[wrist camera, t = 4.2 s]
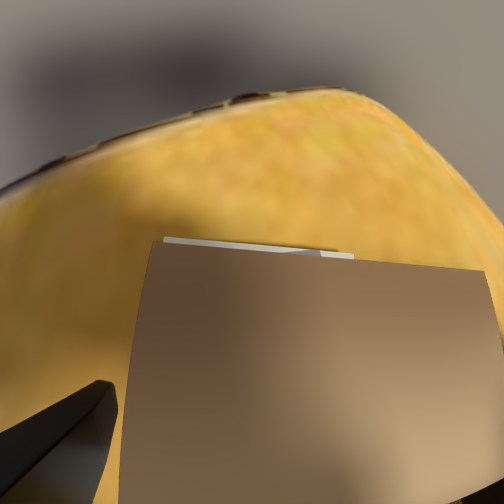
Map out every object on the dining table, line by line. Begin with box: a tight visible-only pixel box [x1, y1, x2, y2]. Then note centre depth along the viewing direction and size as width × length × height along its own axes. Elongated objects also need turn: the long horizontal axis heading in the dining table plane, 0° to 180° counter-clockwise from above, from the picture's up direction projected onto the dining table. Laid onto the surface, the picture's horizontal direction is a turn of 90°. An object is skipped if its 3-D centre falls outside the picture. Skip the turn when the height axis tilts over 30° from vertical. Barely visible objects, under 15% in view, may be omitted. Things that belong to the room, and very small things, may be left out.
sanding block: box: [118, 241, 504, 504], centre depth 8 cm, size 4×6×11 cm, turn 88°
